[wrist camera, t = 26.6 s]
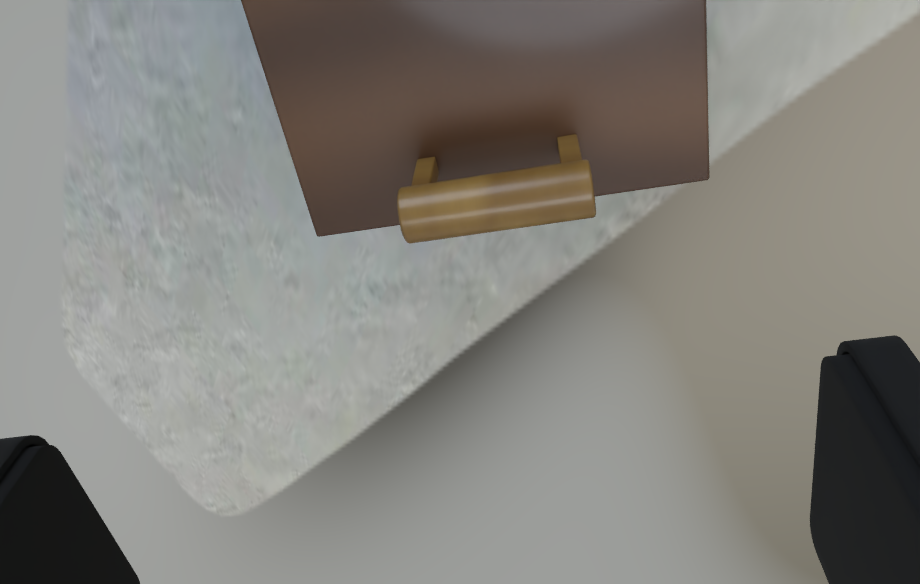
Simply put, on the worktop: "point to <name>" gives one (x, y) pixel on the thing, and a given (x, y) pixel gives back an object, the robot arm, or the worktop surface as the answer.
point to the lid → (483, 107)
